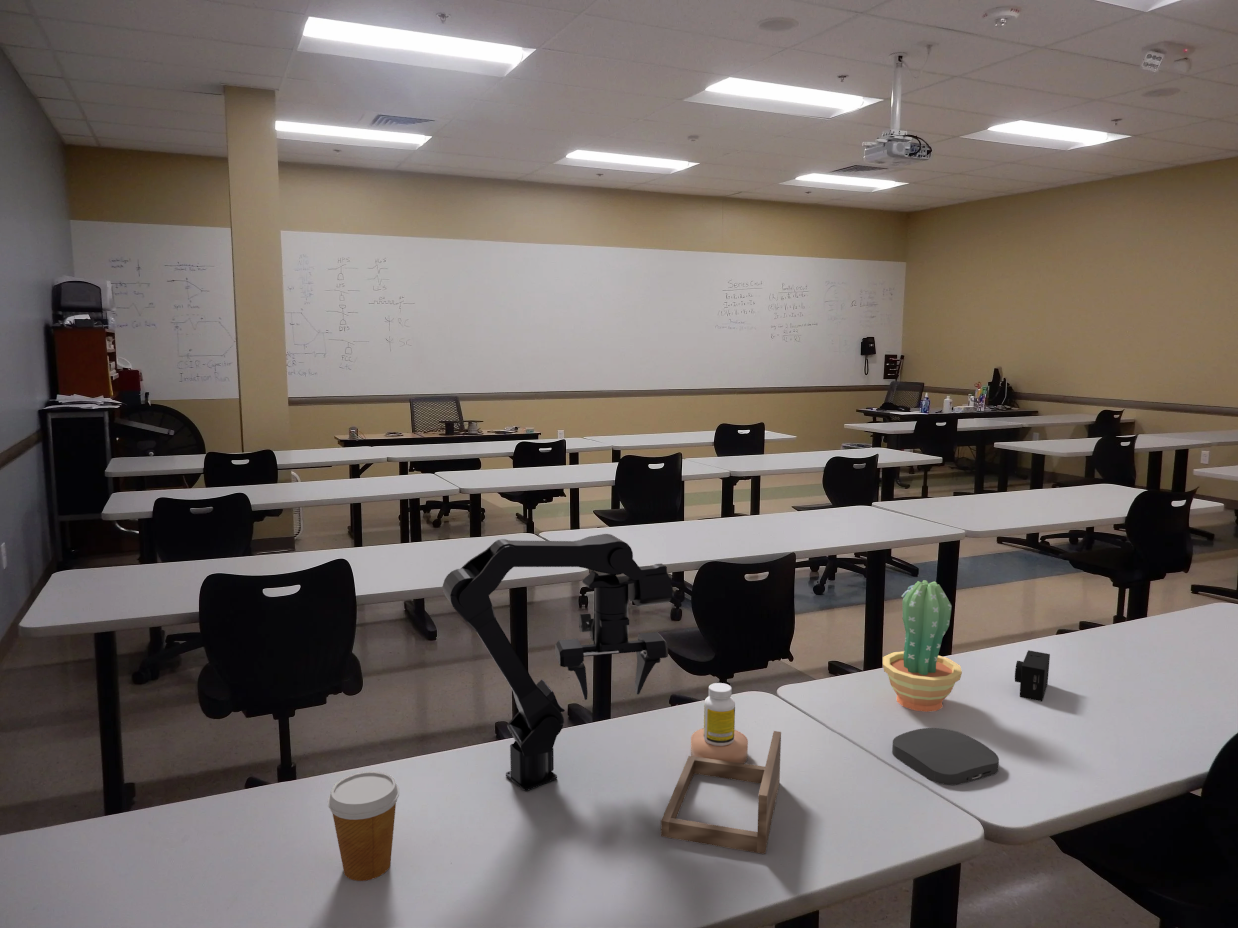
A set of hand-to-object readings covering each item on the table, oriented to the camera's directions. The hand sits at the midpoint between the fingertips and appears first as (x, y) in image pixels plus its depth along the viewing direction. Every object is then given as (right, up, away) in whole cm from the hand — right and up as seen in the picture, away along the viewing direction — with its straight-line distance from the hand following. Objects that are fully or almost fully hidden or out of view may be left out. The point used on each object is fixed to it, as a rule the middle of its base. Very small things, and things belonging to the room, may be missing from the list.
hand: (611, 696), depth 145 cm
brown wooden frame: (+18, -14, -13) cm, 26 cm away
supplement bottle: (+19, -9, +3) cm, 21 cm away
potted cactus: (+63, -9, +26) cm, 68 cm away
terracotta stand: (+19, -12, +4) cm, 23 cm away
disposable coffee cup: (-34, -16, -27) cm, 47 cm away
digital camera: (+88, -8, +32) cm, 94 cm away
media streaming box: (+58, -12, +2) cm, 60 cm away
